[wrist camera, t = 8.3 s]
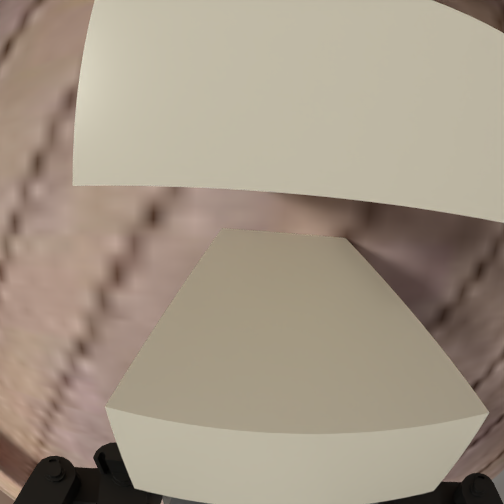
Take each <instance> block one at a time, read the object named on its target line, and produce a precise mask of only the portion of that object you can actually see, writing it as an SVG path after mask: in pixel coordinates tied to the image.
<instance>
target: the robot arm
mask: <svg viewBox="0 0 504 504" xmlns="http://www.w3.org/2000/svg"><path fill="white" fill-rule="evenodd" d="M93 459H94V461H95V463H96V465H97V467H98V468H79V467H74V466H73V465H72V463H71V462H70V461H69V460H67V459H65V458H64V457H59V456H49V457H47V458H44V459H42V460H41V461H40V462H39V463H38V464H37V466H36V468H35V469H34V471H33V472H32V474H31V475H30V477H29V479H28V480H27V482H26V484H25V485H24V487H23V488H22V490H21V492H20V493H19V495H18V497H17V498H16V500H15V502H14V503H13V504H161V500H162V499H163V502H164V504H170V500H171V497H169V496H164V495H160V494H155V493H151V492H147V491H143V490H139V489H135V488H134V486H133V484H132V481H131V479H130V477H129V474H128V472H127V469H126V467H125V464H124V461H123V459H122V456H121V453H120V451H119V448H118V445H117V443H109V444H106V445H104V446H102V447H101V448H99V449H98V450H97V451H96V453H95V455H94V457H93ZM378 504H503V502H502V500H501V498H500V496H499V494H498V492H497V490H496V488H495V485H494V483H493V482H492V480H491V479H490V478H489V477H488V476H486V475H484V474H481V473H473V474H470V475H468V476H467V477H466V478H465V479H464V480H463V481H462V482H441V483H440V484H439V485H438V486H437V487H436V489H435V490H434V491H431V492H427V493H423V494H419V495H415V496H410V497H405V498H400V499H395V500H389V501H383V502H378Z"/></svg>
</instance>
